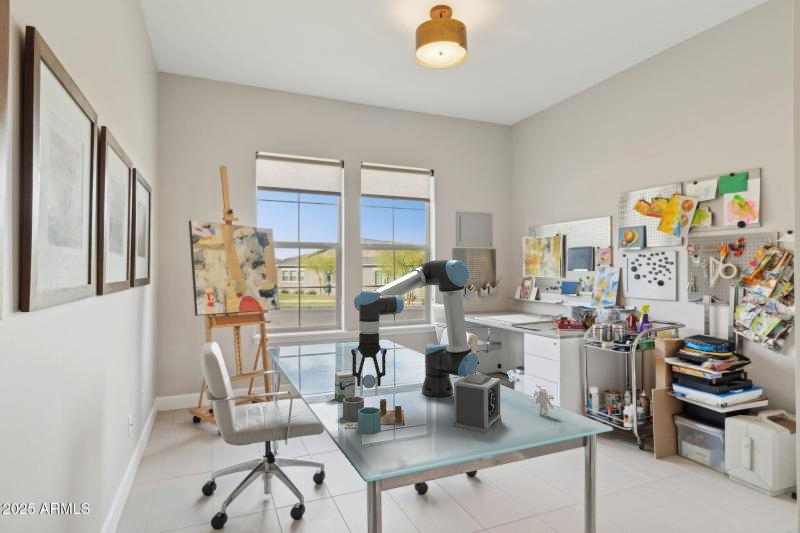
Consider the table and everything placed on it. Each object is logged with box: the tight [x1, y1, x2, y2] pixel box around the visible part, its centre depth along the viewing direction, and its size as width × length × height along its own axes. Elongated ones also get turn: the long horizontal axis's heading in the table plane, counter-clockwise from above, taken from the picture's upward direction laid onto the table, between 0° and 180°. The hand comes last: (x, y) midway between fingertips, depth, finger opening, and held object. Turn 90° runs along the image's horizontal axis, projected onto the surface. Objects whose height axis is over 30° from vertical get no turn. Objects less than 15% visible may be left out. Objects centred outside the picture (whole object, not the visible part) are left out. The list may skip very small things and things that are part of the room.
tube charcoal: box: [342, 396, 365, 422], centre depth 173 cm, size 8×8×7 cm
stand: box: [379, 398, 406, 426], centre depth 172 cm, size 11×16×6 cm
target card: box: [343, 422, 358, 429], centre depth 163 cm, size 7×5×1 cm
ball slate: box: [362, 374, 376, 389], centre depth 159 cm, size 5×5×5 cm
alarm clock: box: [452, 373, 502, 434], centre depth 166 cm, size 18×13×18 cm
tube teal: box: [357, 406, 382, 435], centre depth 159 cm, size 8×8×7 cm
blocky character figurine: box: [533, 384, 555, 417], centre depth 175 cm, size 9×4×12 cm, turn 37°
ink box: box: [334, 371, 356, 402], centre depth 198 cm, size 9×5×12 cm, turn 117°
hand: (368, 394), depth 159 cm, fingers closed on ball slate, 5 cm apart
